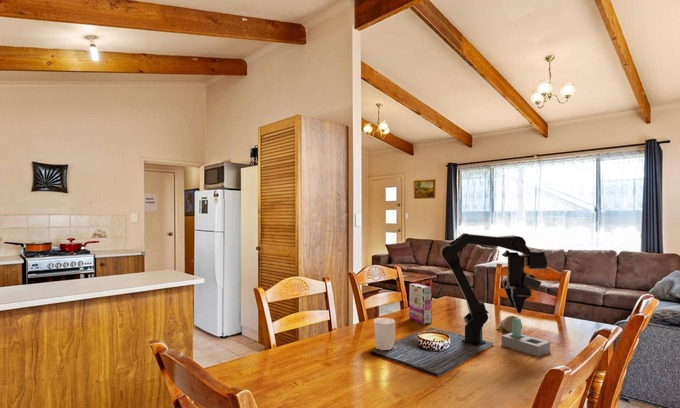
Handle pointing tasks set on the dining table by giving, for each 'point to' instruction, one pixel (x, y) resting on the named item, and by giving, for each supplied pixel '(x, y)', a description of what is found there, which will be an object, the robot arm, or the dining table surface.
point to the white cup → (384, 333)
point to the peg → (516, 328)
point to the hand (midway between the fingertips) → (516, 309)
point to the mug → (507, 324)
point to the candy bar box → (420, 303)
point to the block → (526, 344)
